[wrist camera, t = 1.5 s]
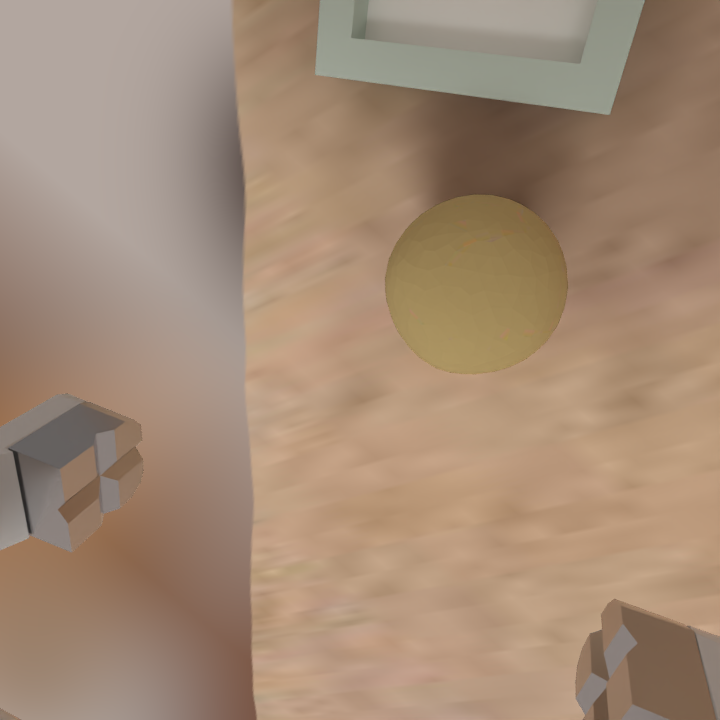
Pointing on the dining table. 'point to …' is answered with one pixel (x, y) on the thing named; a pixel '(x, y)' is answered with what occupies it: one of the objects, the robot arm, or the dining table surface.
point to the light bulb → (476, 284)
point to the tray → (483, 47)
